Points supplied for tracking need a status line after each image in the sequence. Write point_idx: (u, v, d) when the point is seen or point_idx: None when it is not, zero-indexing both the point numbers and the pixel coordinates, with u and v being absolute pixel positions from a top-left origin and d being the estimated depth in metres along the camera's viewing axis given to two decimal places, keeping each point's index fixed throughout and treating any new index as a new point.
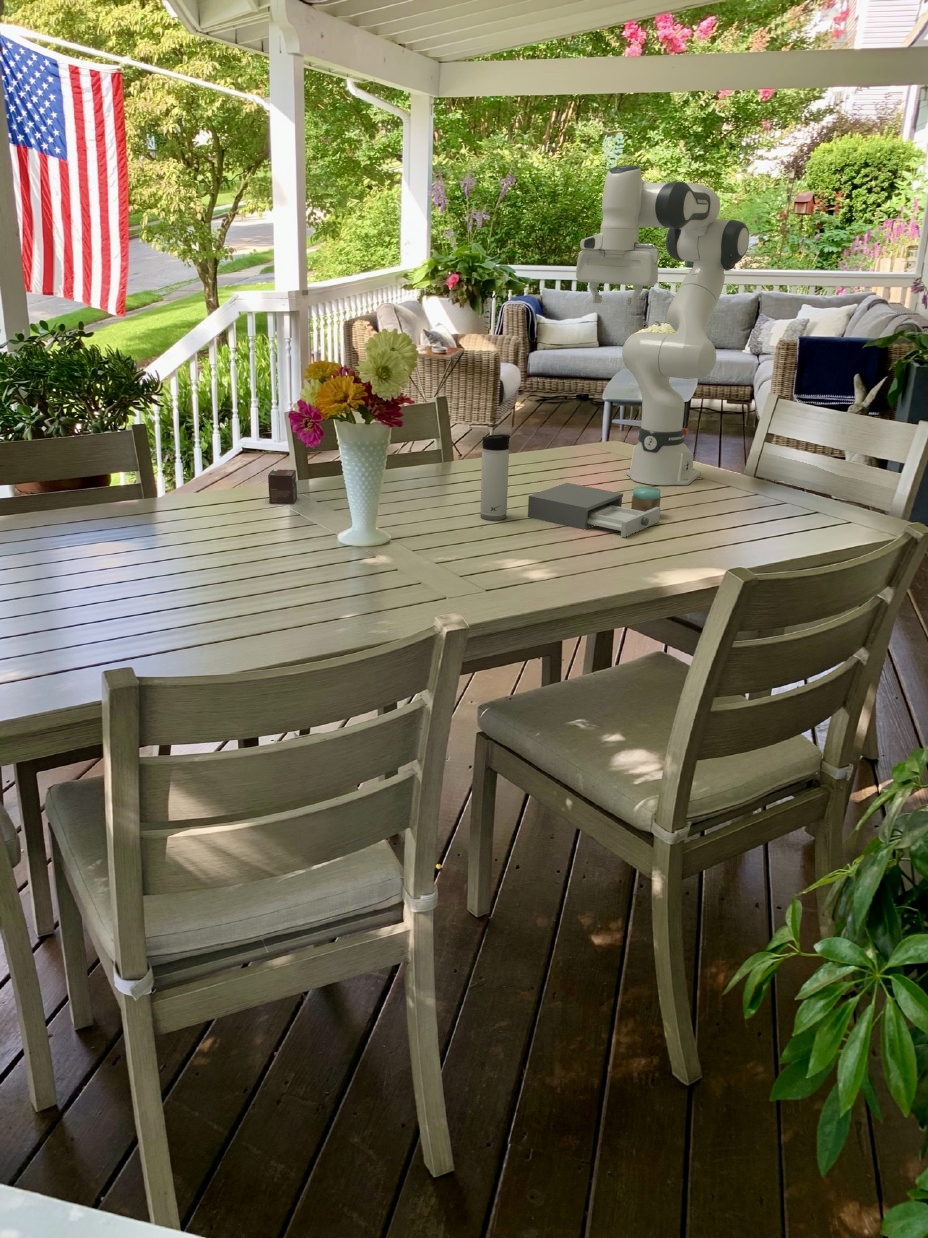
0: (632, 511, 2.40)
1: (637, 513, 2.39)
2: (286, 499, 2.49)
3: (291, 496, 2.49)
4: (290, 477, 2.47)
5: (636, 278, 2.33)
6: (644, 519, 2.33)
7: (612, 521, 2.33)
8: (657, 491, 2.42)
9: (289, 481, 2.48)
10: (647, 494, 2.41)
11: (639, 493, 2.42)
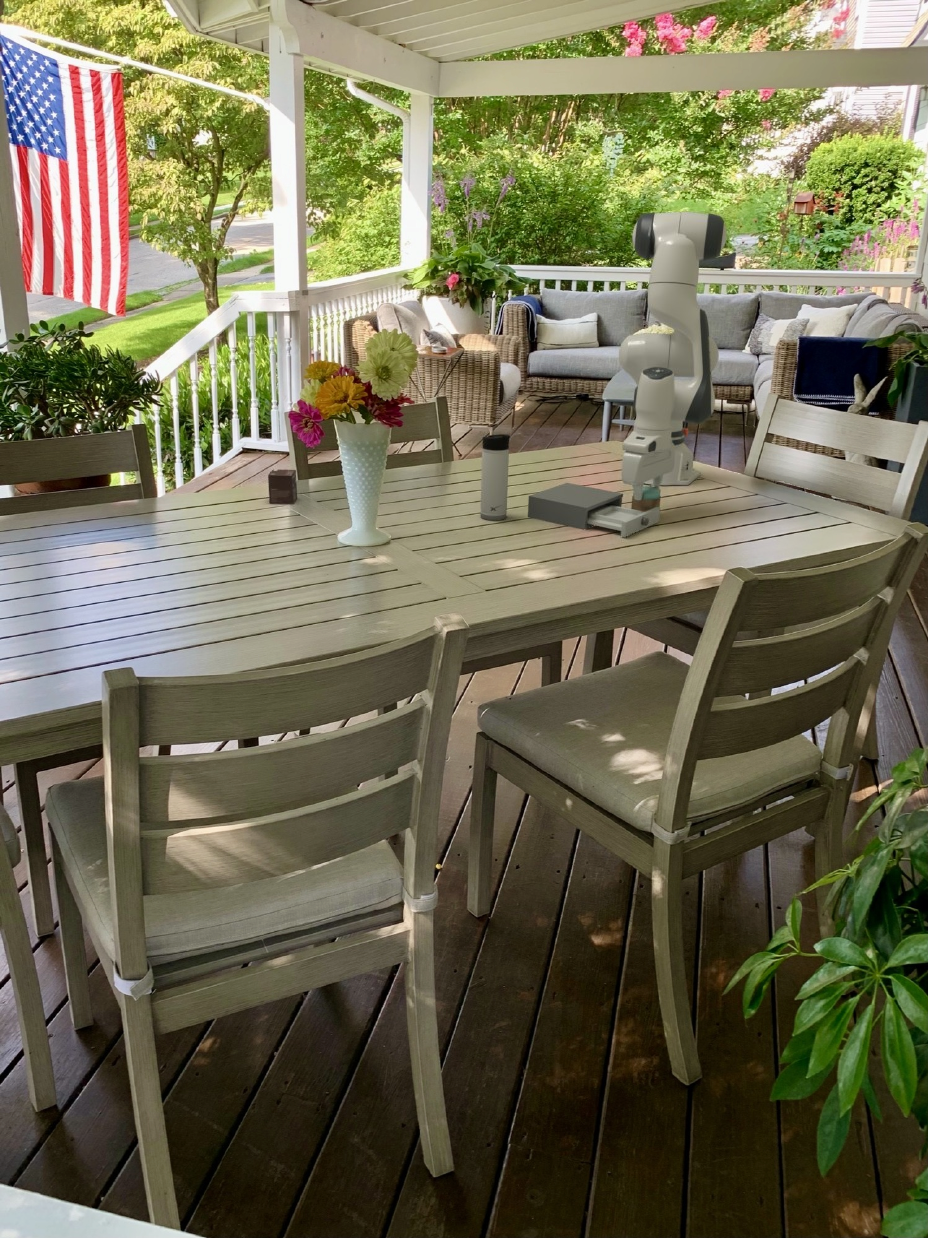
0: (632, 511, 2.40)
1: (637, 513, 2.39)
2: (286, 499, 2.49)
3: (291, 496, 2.49)
4: (290, 477, 2.47)
5: (667, 467, 2.46)
6: (644, 519, 2.33)
7: (612, 521, 2.33)
8: (657, 491, 2.42)
9: (289, 481, 2.48)
10: (647, 494, 2.41)
11: None
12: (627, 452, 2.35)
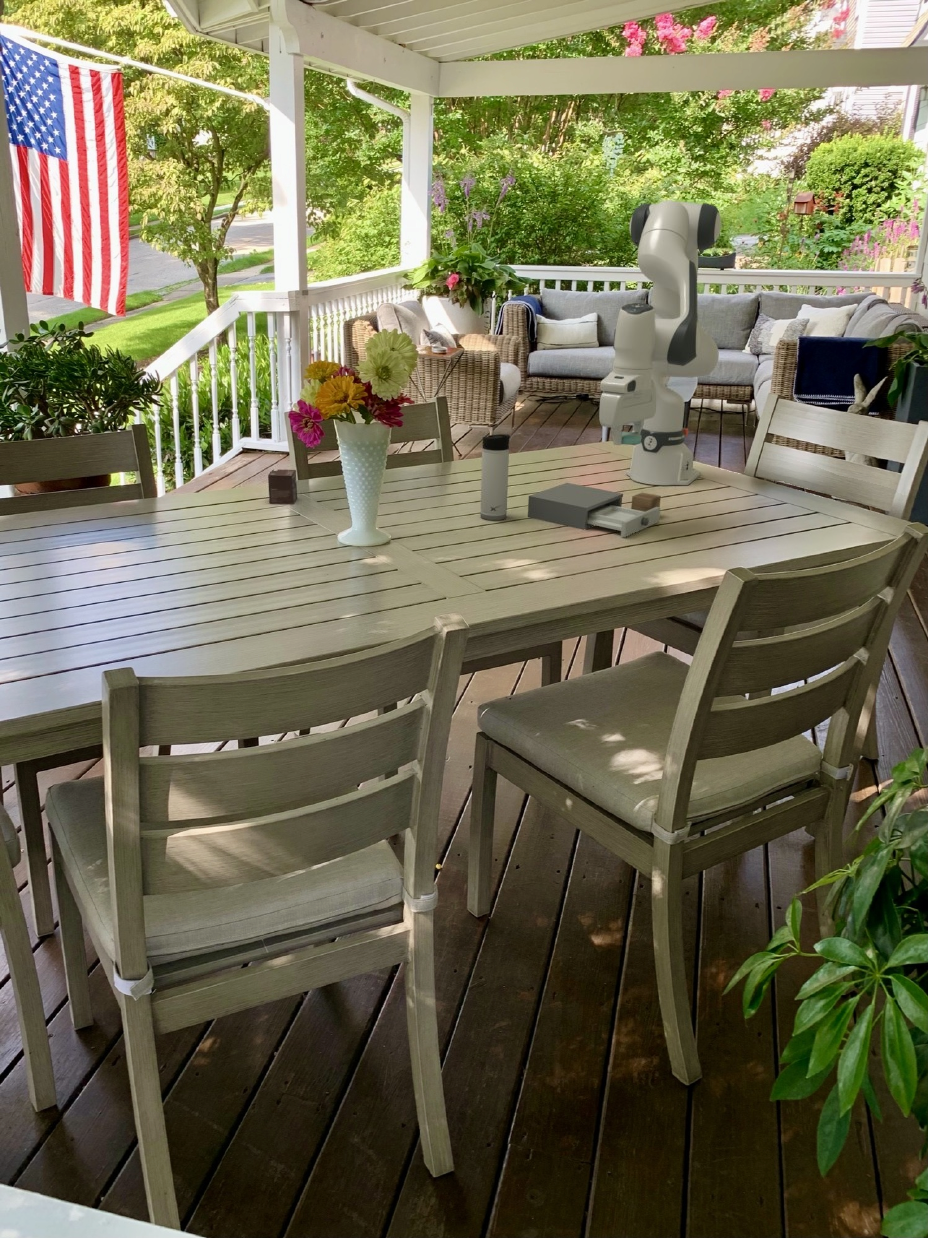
0: (632, 511, 2.40)
1: (637, 513, 2.39)
2: (286, 500, 2.49)
3: (291, 496, 2.49)
4: (290, 477, 2.47)
5: (649, 412, 2.32)
6: (644, 519, 2.33)
7: (612, 521, 2.33)
8: (638, 436, 2.29)
9: (289, 481, 2.48)
10: (627, 439, 2.28)
11: None
12: (605, 392, 2.21)
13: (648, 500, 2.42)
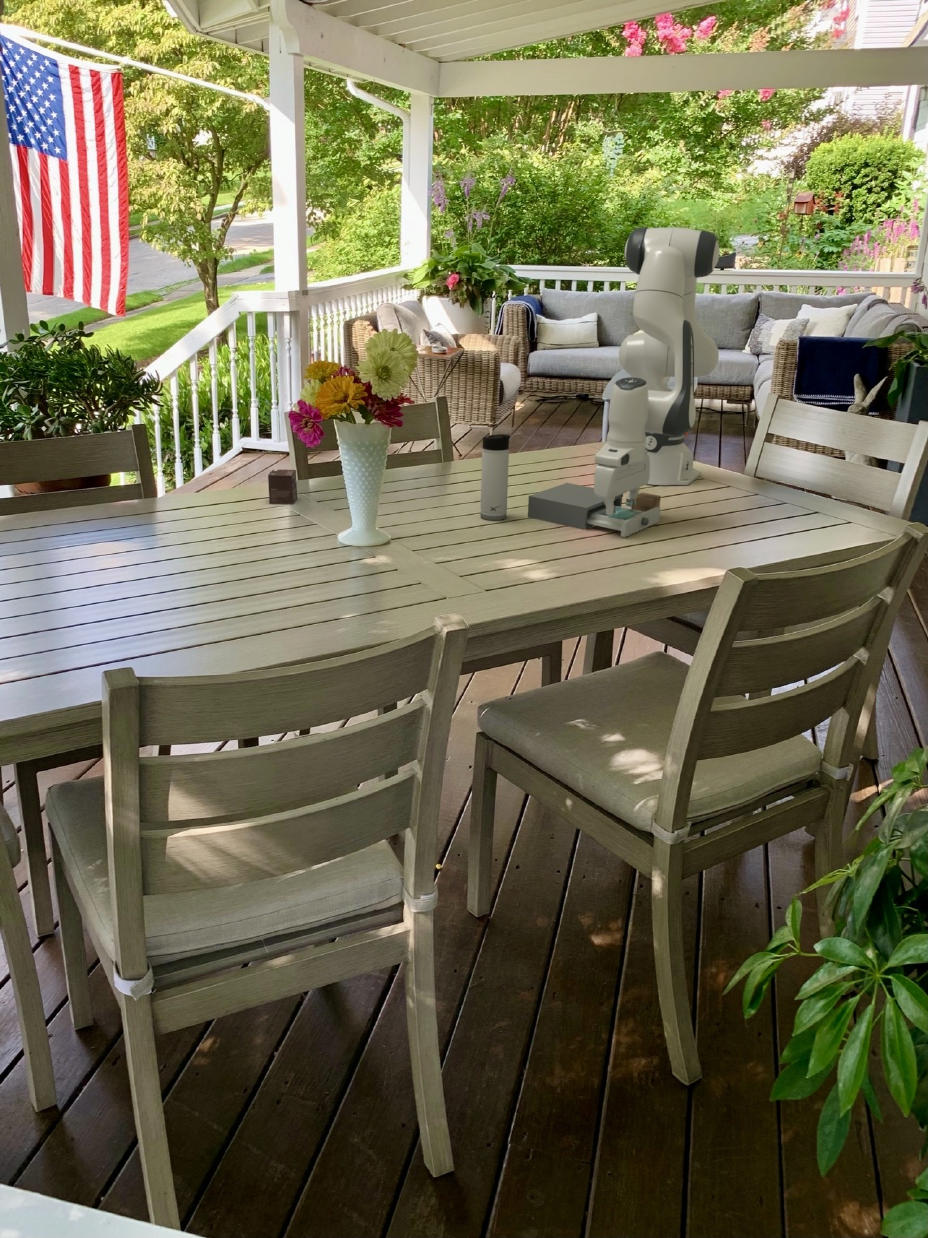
0: None
1: (637, 513, 2.39)
2: (286, 500, 2.49)
3: (291, 496, 2.49)
4: (290, 477, 2.47)
5: (642, 480, 2.38)
6: (644, 519, 2.33)
7: (612, 521, 2.33)
8: (631, 512, 2.36)
9: (289, 481, 2.48)
10: (620, 516, 2.34)
11: (612, 515, 2.35)
12: (599, 465, 2.27)
13: (648, 500, 2.42)
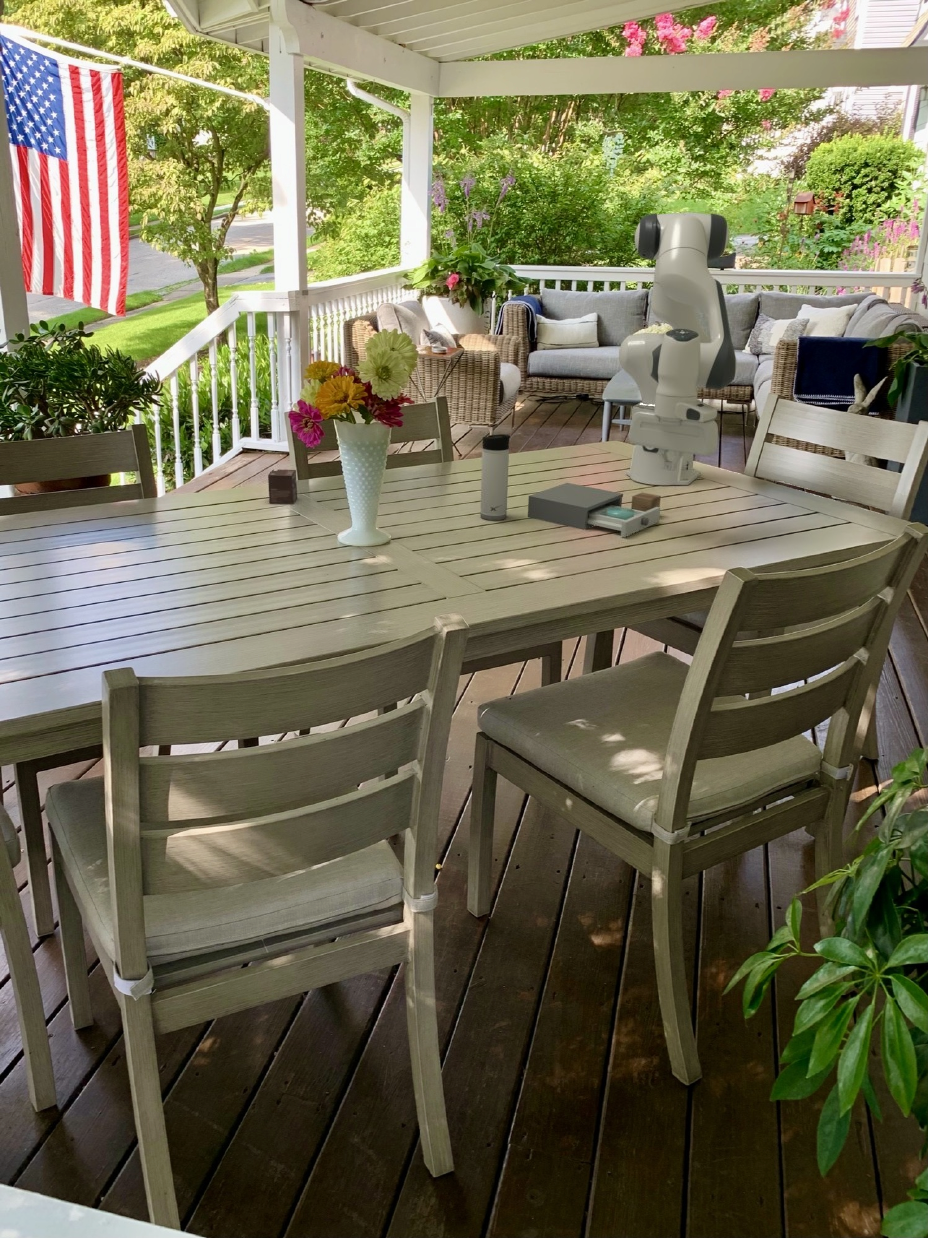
0: None
1: (637, 513, 2.39)
2: (286, 500, 2.49)
3: (291, 496, 2.49)
4: (290, 477, 2.47)
5: None
6: (644, 519, 2.33)
7: (612, 521, 2.33)
8: (631, 512, 2.36)
9: (289, 481, 2.48)
10: (620, 516, 2.34)
11: (612, 515, 2.35)
12: (706, 422, 2.16)
13: (648, 500, 2.42)
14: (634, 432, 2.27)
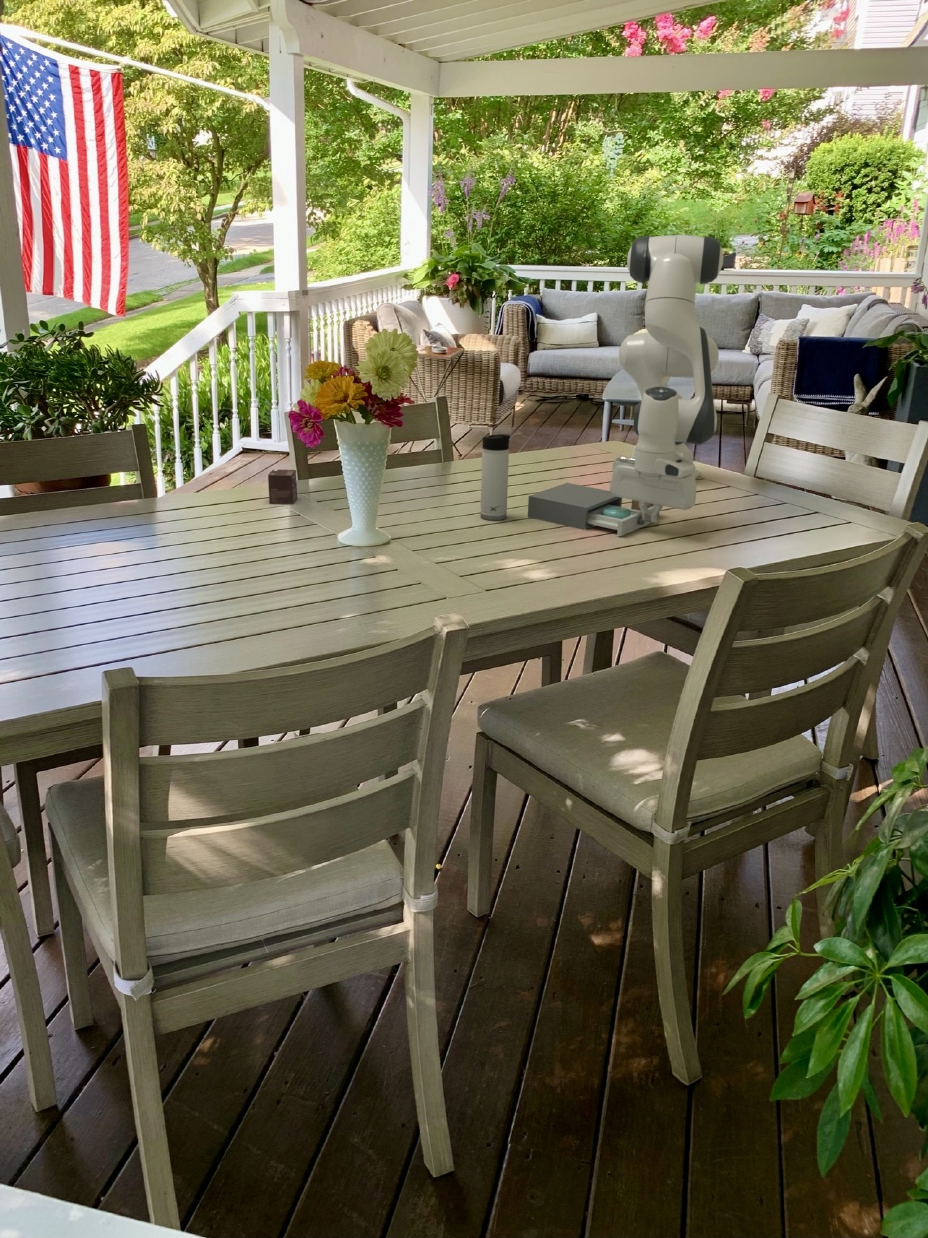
0: None
1: (633, 512, 2.40)
2: (286, 500, 2.49)
3: (291, 496, 2.49)
4: (290, 477, 2.47)
5: None
6: (640, 518, 2.34)
7: (608, 520, 2.34)
8: (627, 512, 2.36)
9: (289, 481, 2.48)
10: (617, 515, 2.35)
11: (609, 514, 2.36)
12: (684, 478, 2.23)
13: None
14: (615, 485, 2.34)
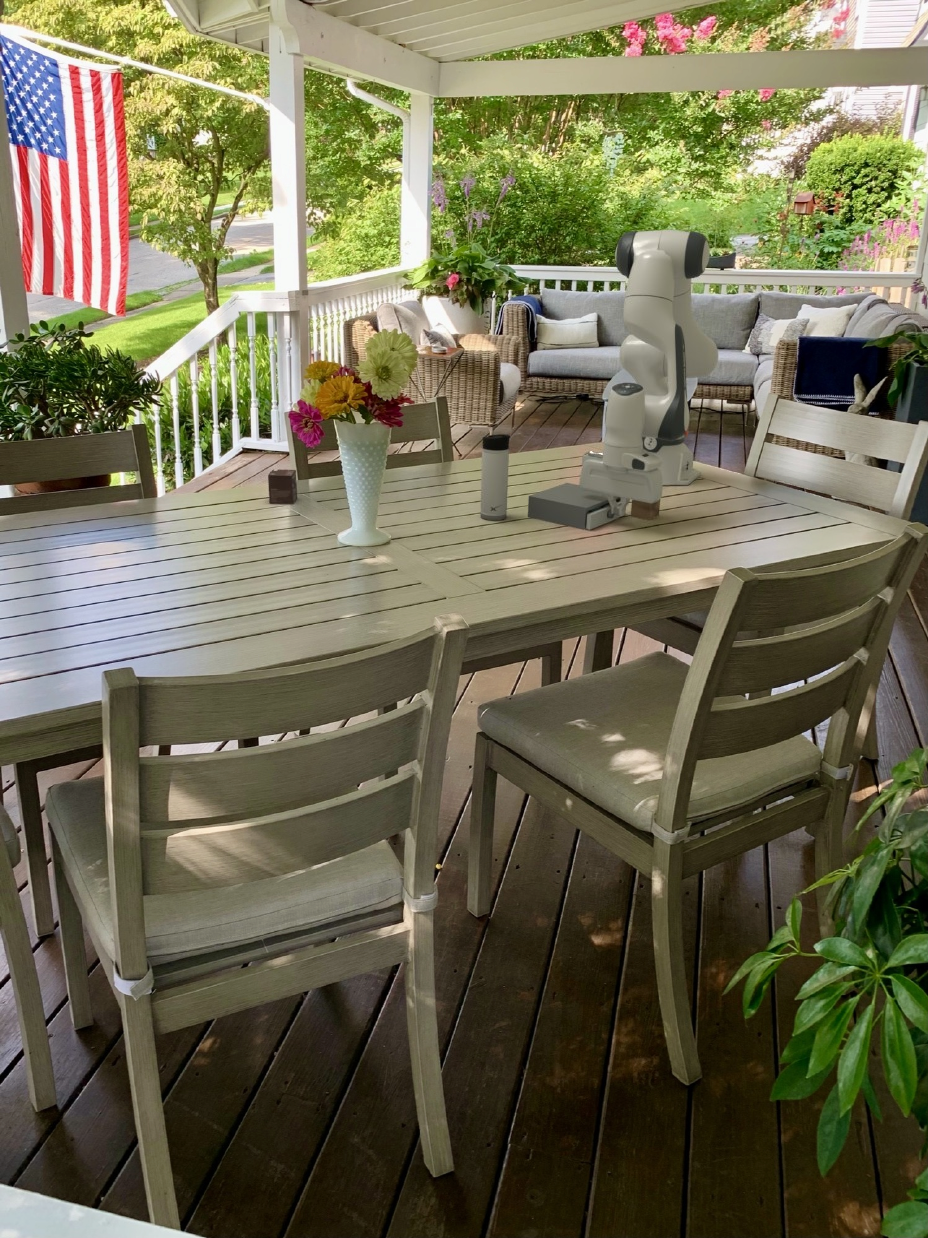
0: None
1: (604, 506, 2.44)
2: (286, 500, 2.49)
3: (291, 496, 2.49)
4: (290, 477, 2.47)
5: None
6: (609, 511, 2.38)
7: None
8: None
9: (289, 481, 2.48)
10: None
11: None
12: (650, 472, 2.28)
13: None
14: (584, 479, 2.39)
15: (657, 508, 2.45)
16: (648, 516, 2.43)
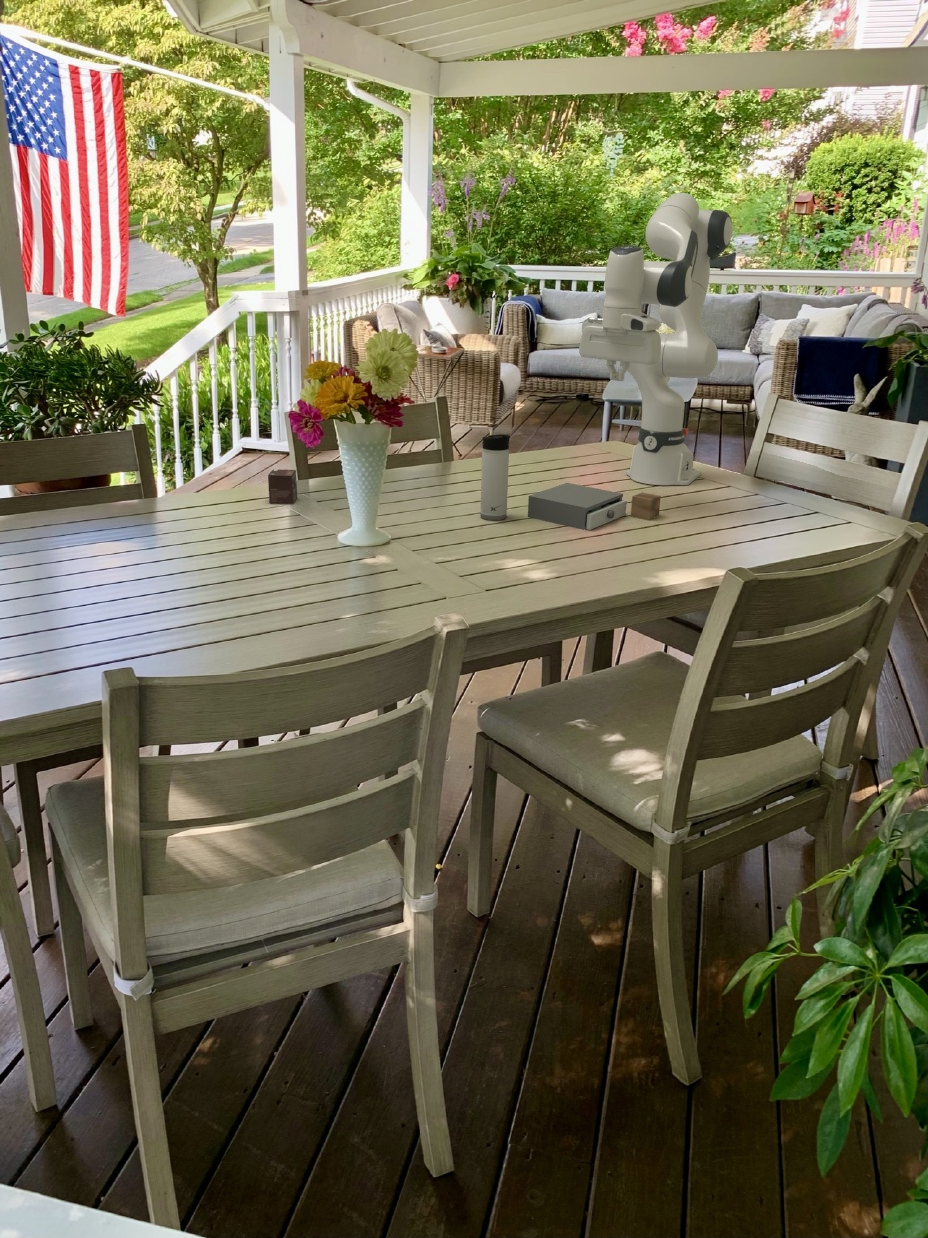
0: None
1: (604, 506, 2.44)
2: (286, 500, 2.49)
3: (291, 496, 2.49)
4: (290, 477, 2.47)
5: None
6: (609, 512, 2.38)
7: None
8: None
9: (289, 481, 2.48)
10: None
11: None
12: (649, 332, 2.31)
13: (648, 500, 2.42)
14: (584, 345, 2.42)
15: (657, 508, 2.45)
16: (648, 516, 2.43)
